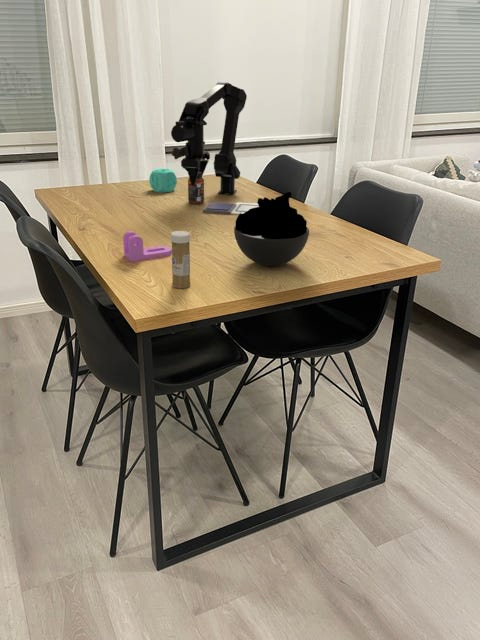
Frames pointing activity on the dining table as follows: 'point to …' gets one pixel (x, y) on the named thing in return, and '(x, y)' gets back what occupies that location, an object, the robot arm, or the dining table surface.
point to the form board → (243, 207)
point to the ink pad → (219, 208)
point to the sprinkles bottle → (180, 259)
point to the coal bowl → (271, 231)
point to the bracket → (141, 248)
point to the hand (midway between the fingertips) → (196, 182)
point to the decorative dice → (163, 180)
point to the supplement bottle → (196, 190)
